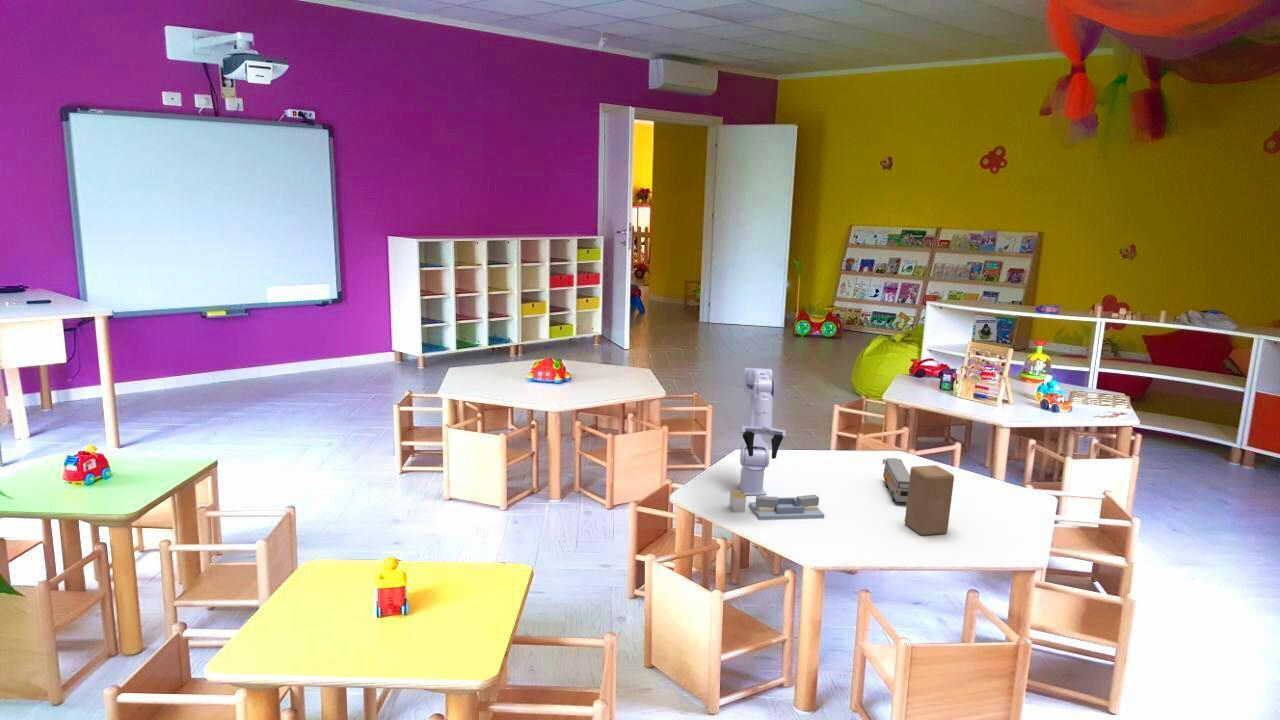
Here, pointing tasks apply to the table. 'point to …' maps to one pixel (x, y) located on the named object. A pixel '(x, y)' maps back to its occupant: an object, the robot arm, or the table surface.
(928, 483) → the wooden block
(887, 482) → the toy bus
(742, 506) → the tan and white block
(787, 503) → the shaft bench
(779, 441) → the robot arm
